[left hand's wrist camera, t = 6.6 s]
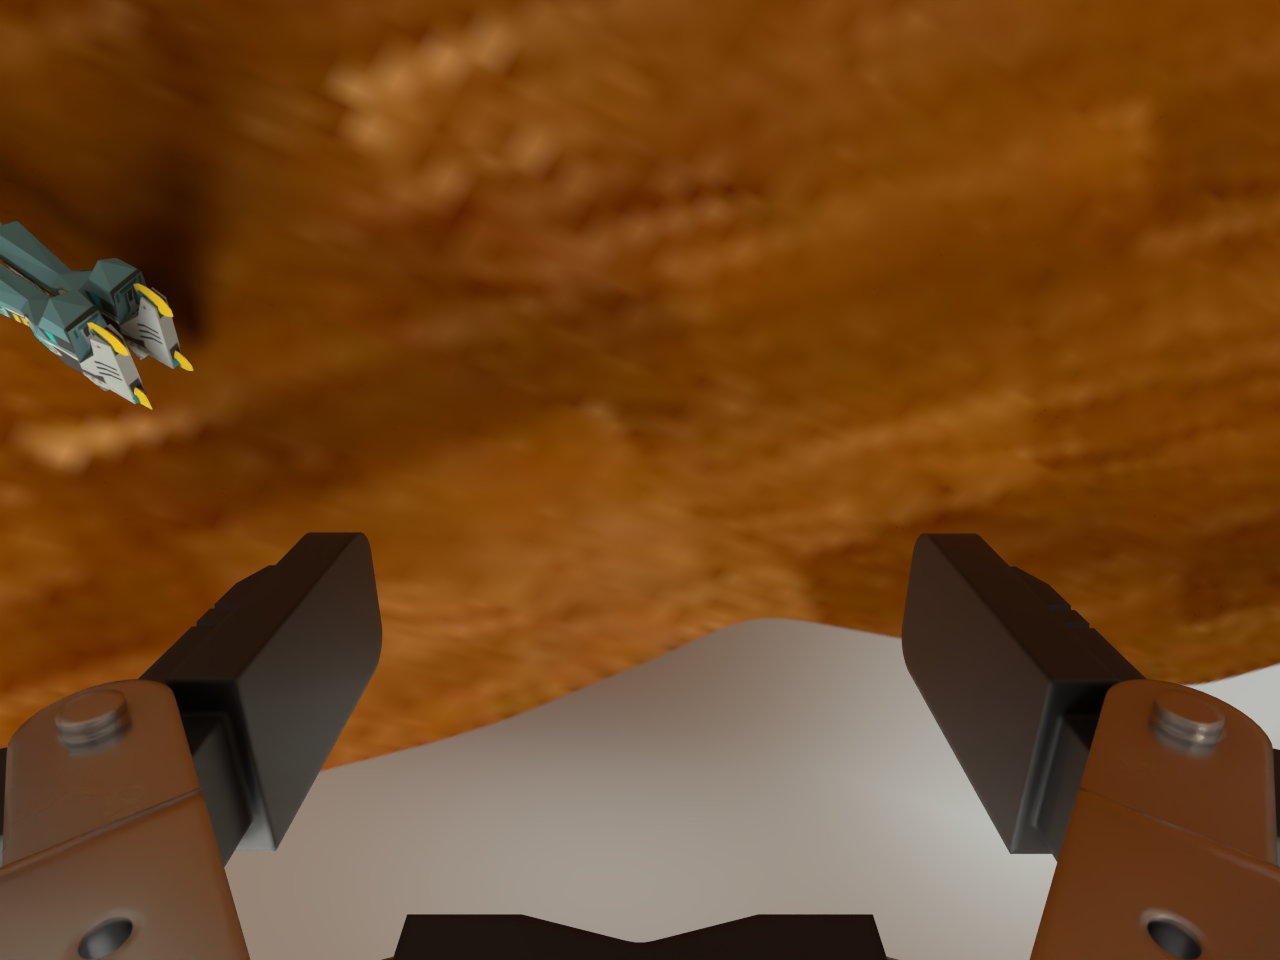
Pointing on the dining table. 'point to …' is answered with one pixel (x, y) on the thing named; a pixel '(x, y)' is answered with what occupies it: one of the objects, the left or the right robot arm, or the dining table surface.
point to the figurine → (88, 313)
